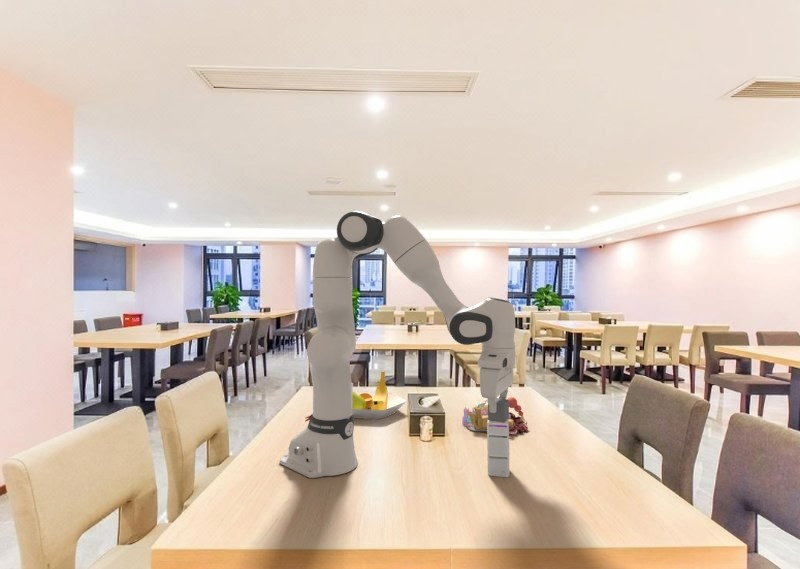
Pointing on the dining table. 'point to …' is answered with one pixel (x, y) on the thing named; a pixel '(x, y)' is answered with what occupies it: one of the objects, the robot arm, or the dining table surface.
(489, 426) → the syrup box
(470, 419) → the food platter
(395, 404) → the fruit
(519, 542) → the dining table surface
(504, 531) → the dining table surface
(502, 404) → the block
